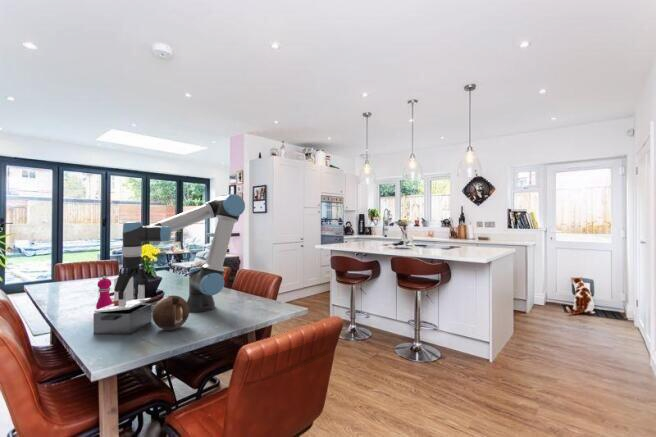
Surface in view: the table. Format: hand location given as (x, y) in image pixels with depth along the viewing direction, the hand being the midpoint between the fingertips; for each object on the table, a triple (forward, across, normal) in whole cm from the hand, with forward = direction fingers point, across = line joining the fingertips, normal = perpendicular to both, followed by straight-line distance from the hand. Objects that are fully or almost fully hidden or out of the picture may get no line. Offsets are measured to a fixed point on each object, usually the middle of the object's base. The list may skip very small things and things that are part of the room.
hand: (132, 302), depth 148 cm
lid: (+2, 0, -4) cm, 4 cm away
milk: (+12, -19, -17) cm, 28 cm away
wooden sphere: (+12, 0, +18) cm, 22 cm away
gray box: (+12, 0, -4) cm, 12 cm away
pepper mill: (+12, -20, -28) cm, 36 cm away
